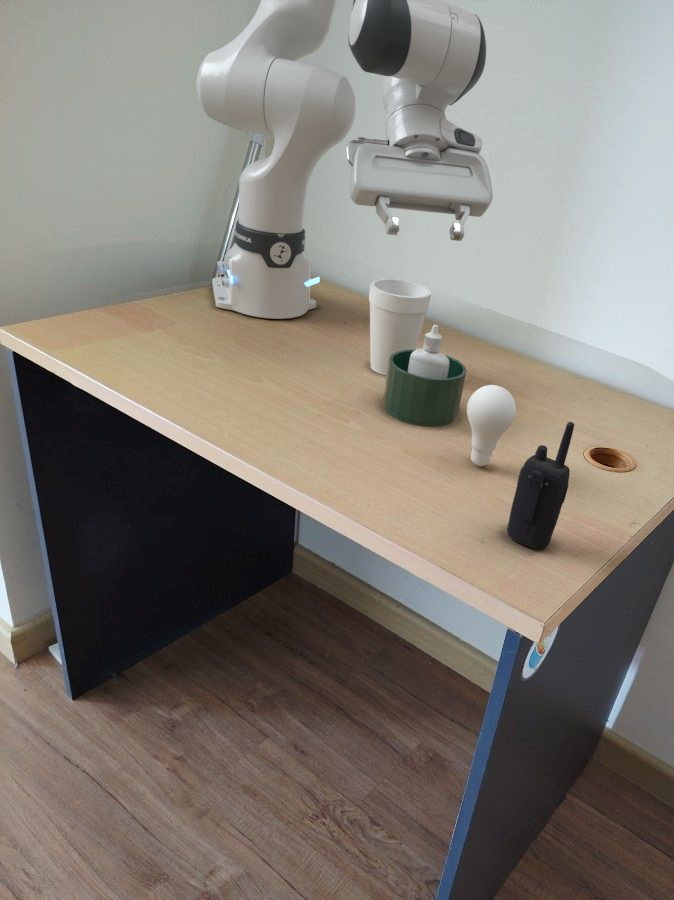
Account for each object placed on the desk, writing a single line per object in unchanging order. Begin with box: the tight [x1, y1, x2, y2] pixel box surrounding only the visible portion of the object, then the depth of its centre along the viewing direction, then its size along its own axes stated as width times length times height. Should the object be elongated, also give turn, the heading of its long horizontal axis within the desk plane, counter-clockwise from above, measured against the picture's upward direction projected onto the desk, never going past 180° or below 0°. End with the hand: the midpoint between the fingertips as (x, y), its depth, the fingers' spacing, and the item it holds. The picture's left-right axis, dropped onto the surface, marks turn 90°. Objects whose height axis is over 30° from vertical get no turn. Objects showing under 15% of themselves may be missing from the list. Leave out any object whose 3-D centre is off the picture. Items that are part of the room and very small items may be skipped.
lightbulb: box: [466, 384, 517, 468], centre depth 96 cm, size 6×6×11 cm
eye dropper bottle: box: [408, 324, 449, 379], centre depth 108 cm, size 4×6×12 cm
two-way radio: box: [506, 421, 575, 550], centre depth 81 cm, size 6×4×15 cm
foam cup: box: [368, 277, 432, 376], centre depth 119 cm, size 10×9×13 cm
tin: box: [382, 350, 468, 427], centre depth 109 cm, size 11×11×7 cm
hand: (425, 235), depth 105 cm, fingers open, 8 cm apart
